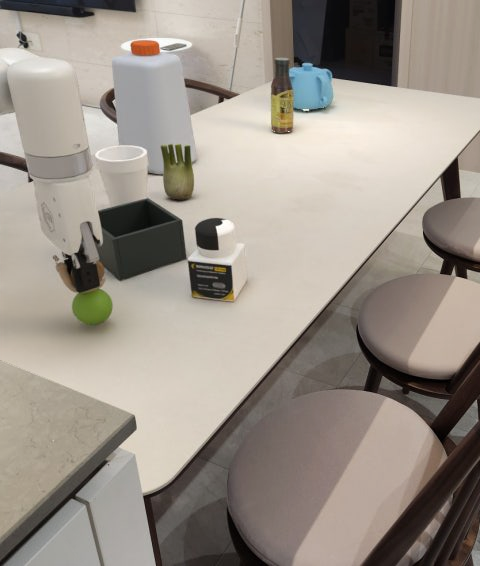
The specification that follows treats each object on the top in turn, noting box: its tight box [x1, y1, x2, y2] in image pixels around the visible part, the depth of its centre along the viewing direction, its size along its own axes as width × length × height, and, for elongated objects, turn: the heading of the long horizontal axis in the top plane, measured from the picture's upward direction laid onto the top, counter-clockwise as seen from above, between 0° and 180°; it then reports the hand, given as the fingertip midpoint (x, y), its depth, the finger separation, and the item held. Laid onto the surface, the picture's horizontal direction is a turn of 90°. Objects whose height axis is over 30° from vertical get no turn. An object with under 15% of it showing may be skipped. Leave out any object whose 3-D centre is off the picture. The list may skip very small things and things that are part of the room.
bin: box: [95, 197, 188, 281], centre depth 111 cm, size 12×12×8 cm
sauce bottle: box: [270, 57, 294, 133], centre depth 176 cm, size 7×6×20 cm
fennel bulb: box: [161, 144, 195, 201], centre depth 133 cm, size 6×5×12 cm
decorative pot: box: [289, 62, 334, 110], centre depth 201 cm, size 16×16×14 cm
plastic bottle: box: [111, 39, 198, 175], centre depth 147 cm, size 15×15×28 cm
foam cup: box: [94, 145, 149, 207], centre depth 124 cm, size 10×9×13 cm
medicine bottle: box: [187, 217, 248, 303], centre depth 102 cm, size 7×7×12 cm
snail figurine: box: [52, 254, 114, 326], centre depth 90 cm, size 5×6×12 cm
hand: (84, 284), depth 90 cm, fingers closed on snail figurine
